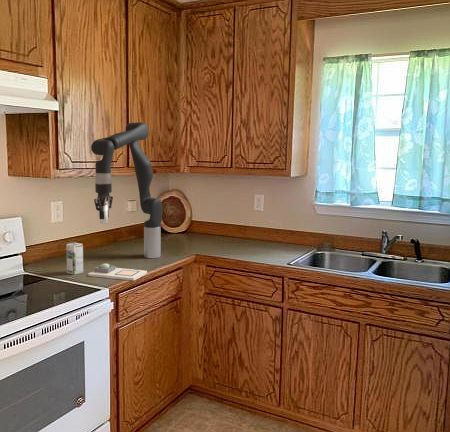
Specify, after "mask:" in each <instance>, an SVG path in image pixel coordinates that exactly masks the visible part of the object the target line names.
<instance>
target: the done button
mask: <svg viewBox="0 0 450 432" xmlns="http://www.w3.org/2000/svg"><path fill="white" fill-rule="evenodd" d="M100 265H101V268H109V265H110V263H101V264H100Z"/></svg>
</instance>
